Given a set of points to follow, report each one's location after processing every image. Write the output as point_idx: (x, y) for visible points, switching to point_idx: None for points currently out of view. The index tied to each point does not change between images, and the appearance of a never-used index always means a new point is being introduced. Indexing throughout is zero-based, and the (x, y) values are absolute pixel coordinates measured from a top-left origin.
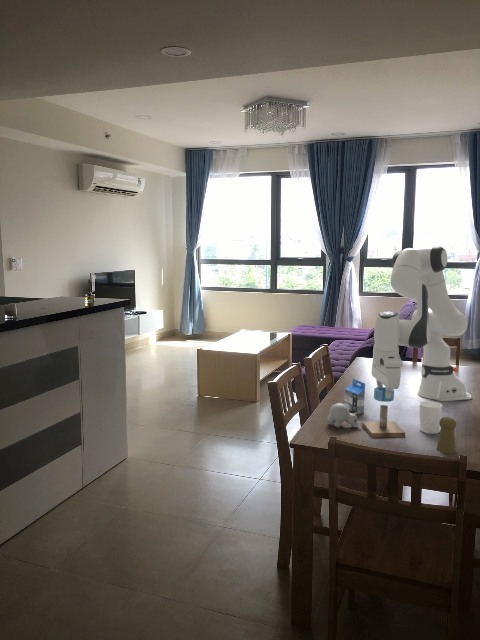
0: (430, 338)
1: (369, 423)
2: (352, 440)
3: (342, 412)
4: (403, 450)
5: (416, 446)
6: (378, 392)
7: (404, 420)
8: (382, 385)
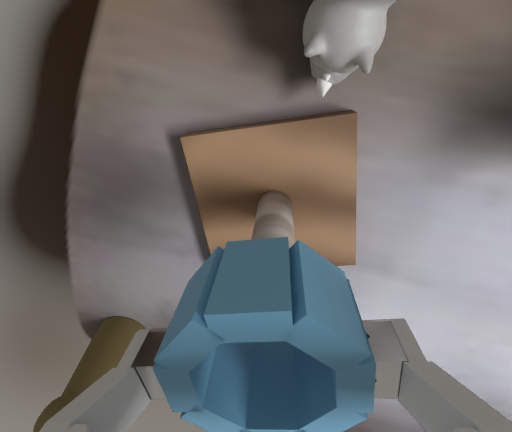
0: None
1: (326, 150)
2: (121, 18)
3: None
4: (78, 226)
5: (131, 273)
6: (188, 315)
7: (404, 303)
8: (413, 414)
